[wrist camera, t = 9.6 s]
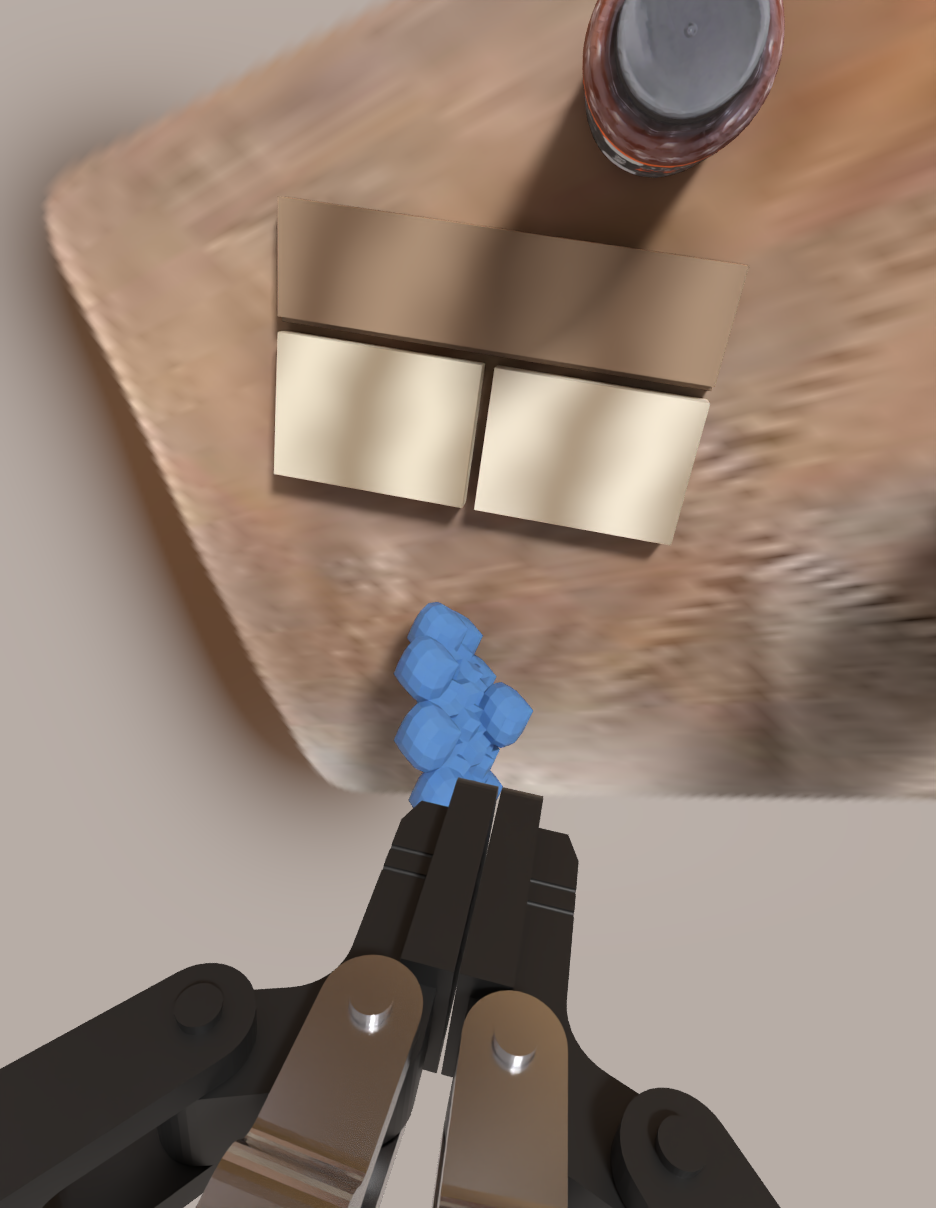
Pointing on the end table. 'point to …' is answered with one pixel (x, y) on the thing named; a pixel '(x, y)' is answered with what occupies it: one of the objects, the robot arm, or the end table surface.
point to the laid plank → (506, 292)
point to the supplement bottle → (677, 77)
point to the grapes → (453, 706)
